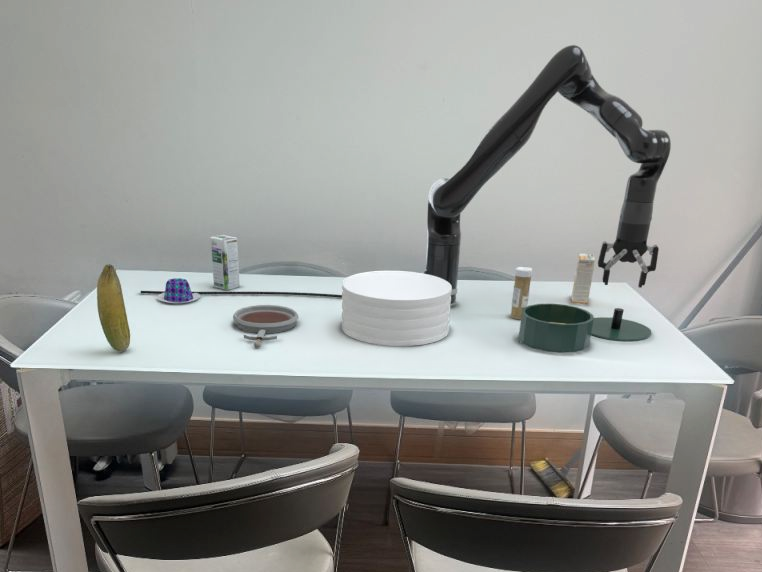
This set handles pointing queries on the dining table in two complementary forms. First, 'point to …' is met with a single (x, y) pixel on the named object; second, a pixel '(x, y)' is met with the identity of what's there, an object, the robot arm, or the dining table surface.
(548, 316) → the pot
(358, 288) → the plate stack
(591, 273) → the supplement box
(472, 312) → the dining table surface
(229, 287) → the syrup box
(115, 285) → the vegetable
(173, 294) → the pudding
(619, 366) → the dining table surface
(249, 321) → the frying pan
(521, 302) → the sprinkles bottle
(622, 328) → the pot lid
